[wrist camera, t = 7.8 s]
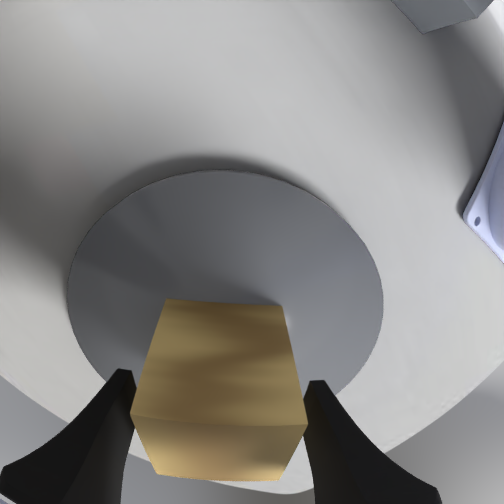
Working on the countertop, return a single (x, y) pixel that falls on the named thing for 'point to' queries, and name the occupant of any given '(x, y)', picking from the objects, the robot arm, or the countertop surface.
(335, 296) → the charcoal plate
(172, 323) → the ochre block
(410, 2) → the slate grey block
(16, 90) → the countertop surface
